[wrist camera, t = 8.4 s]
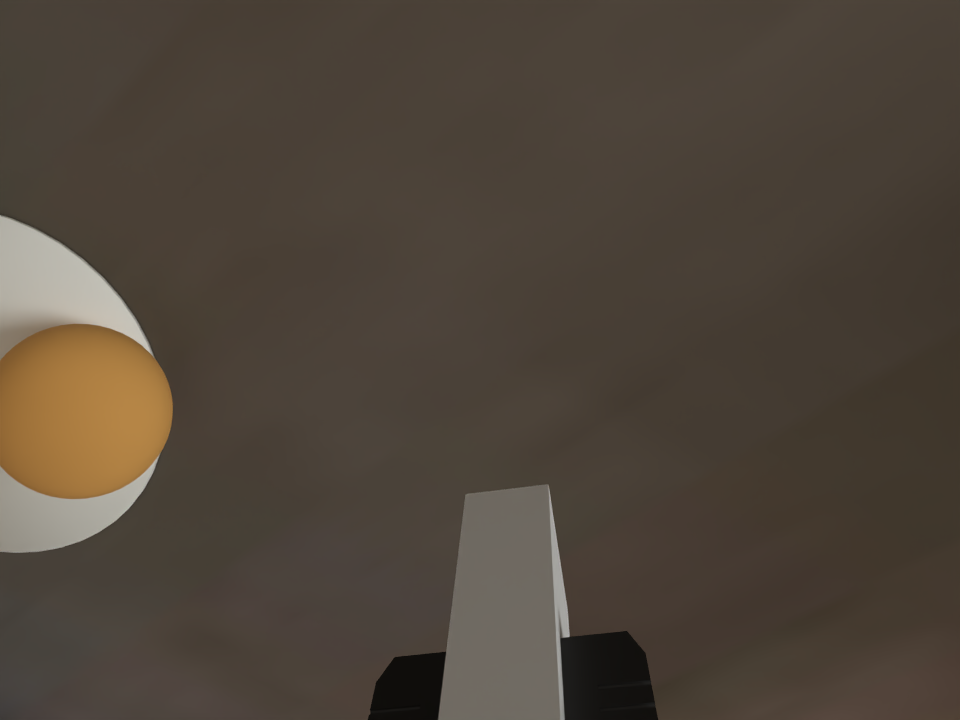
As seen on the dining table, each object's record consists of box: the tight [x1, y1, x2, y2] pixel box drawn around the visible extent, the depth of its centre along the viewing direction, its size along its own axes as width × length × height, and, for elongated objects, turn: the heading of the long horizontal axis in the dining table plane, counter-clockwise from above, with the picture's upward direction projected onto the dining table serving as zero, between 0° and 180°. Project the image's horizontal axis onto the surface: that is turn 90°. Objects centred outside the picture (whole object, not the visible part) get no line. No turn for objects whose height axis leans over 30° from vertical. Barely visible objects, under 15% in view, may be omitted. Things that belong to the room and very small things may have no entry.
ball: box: [0, 324, 173, 499], centre depth 28 cm, size 6×6×6 cm
